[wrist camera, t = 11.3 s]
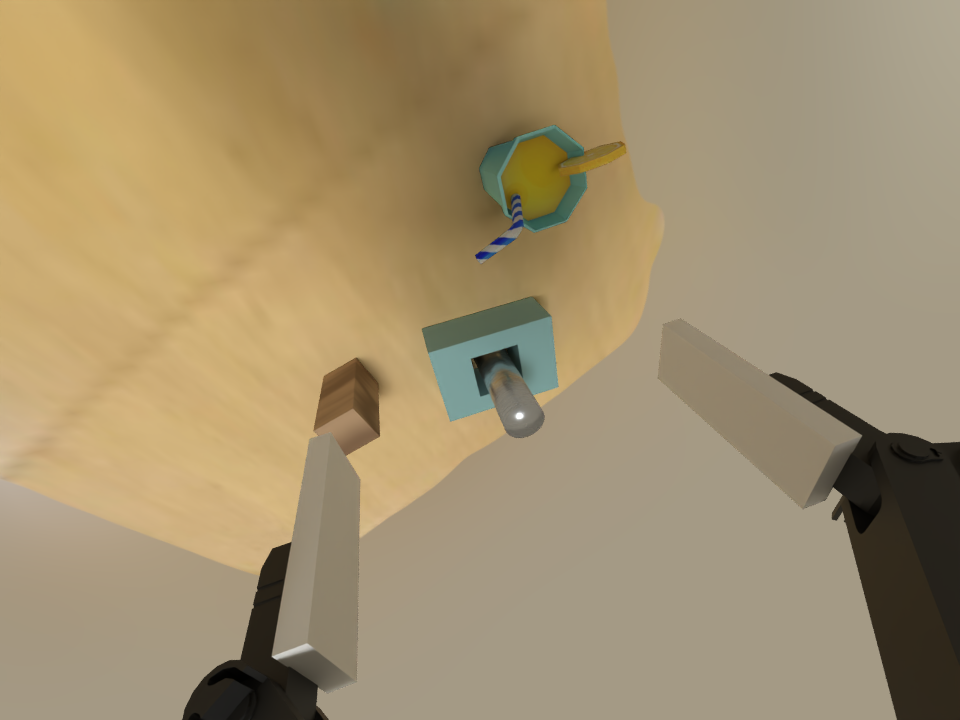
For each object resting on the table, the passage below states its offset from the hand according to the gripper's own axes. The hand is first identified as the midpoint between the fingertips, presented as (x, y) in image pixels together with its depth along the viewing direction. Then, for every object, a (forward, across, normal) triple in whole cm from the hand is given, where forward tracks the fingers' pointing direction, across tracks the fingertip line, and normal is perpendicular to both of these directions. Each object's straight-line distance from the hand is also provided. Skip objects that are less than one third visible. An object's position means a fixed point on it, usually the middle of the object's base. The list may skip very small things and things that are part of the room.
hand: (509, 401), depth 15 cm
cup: (+30, +9, +2) cm, 32 cm away
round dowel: (+29, +4, -17) cm, 34 cm away
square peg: (+29, -13, -15) cm, 36 cm away
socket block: (+29, +4, -17) cm, 34 cm away
